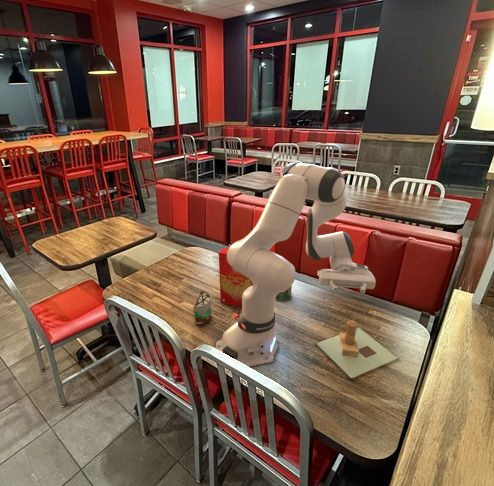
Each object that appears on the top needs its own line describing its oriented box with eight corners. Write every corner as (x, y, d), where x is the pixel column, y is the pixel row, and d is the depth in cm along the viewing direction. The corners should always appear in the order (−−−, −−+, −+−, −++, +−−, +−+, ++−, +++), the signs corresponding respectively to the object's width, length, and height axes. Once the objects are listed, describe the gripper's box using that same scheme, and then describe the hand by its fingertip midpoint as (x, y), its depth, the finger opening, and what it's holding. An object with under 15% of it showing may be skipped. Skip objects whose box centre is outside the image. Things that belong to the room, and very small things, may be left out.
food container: (209, 329, 123) (208, 308, 118) (194, 327, 124) (193, 307, 120) (215, 310, 134) (214, 290, 129) (202, 308, 135) (200, 289, 130)
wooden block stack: (338, 337, 114) (342, 314, 110) (353, 338, 113) (357, 315, 109) (342, 355, 106) (346, 331, 102) (357, 357, 105) (362, 333, 101)
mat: (351, 380, 98) (351, 378, 98) (315, 344, 112) (316, 343, 112) (397, 360, 104) (398, 358, 104) (358, 329, 119) (358, 327, 118)
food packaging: (220, 302, 138) (218, 252, 128) (225, 296, 142) (223, 247, 132) (252, 309, 133) (253, 258, 122) (256, 302, 137) (256, 252, 126)
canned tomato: (289, 291, 144) (291, 270, 139) (292, 301, 137) (293, 280, 132) (272, 291, 144) (273, 270, 140) (273, 301, 137) (274, 279, 133)
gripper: (317, 263, 127) (320, 281, 115) (371, 266, 122) (380, 285, 110) (316, 276, 130) (318, 295, 118) (369, 280, 125) (377, 300, 113)
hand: (349, 290), depth 114 cm, fingers open, 8 cm apart
